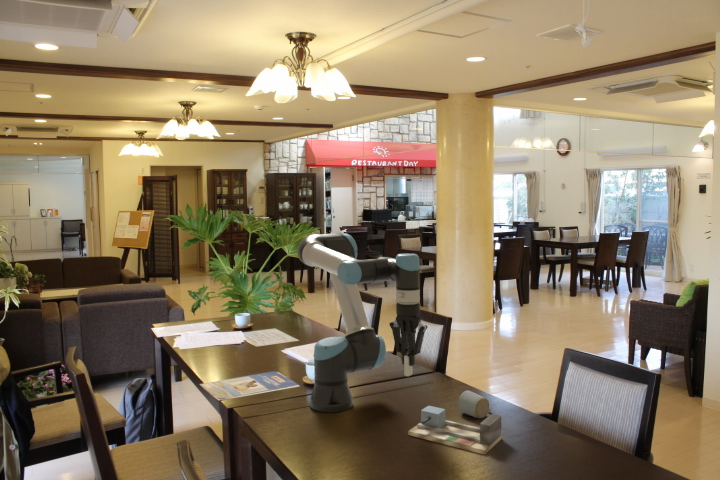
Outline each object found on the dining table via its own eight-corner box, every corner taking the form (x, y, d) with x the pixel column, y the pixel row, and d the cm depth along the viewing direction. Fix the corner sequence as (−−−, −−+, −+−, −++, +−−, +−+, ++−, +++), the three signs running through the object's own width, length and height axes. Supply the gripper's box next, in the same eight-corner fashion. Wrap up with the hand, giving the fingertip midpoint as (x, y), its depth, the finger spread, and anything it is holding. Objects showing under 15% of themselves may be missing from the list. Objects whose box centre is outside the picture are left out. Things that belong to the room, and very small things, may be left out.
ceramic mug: (476, 422, 187) (477, 398, 187) (457, 414, 194) (457, 392, 193) (497, 414, 194) (497, 392, 194) (477, 408, 200) (478, 386, 200)
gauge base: (408, 434, 178) (408, 412, 177) (428, 421, 188) (428, 399, 188) (484, 454, 164) (484, 429, 163) (501, 438, 174) (501, 415, 174)
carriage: (414, 430, 178) (414, 414, 177) (428, 420, 185) (428, 405, 185) (431, 434, 174) (431, 418, 174) (445, 424, 182) (445, 409, 182)
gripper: (384, 302, 185) (385, 374, 186) (420, 306, 177) (420, 381, 179) (396, 298, 191) (397, 368, 192) (431, 302, 183) (431, 375, 185)
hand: (408, 374), depth 186 cm, fingers closed
